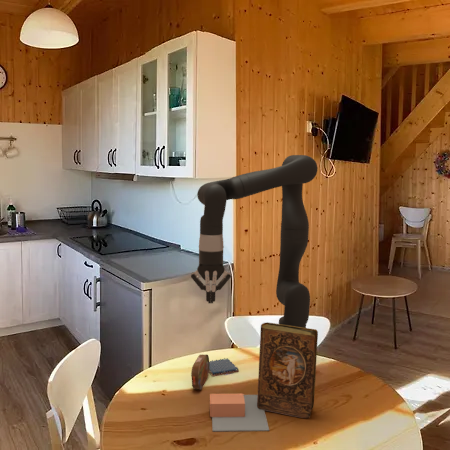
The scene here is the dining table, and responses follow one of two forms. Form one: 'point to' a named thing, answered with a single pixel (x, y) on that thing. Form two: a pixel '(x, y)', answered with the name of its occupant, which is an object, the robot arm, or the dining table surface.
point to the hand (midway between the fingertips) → (210, 302)
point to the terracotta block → (227, 405)
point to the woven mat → (222, 367)
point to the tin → (200, 371)
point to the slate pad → (243, 419)
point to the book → (287, 369)
